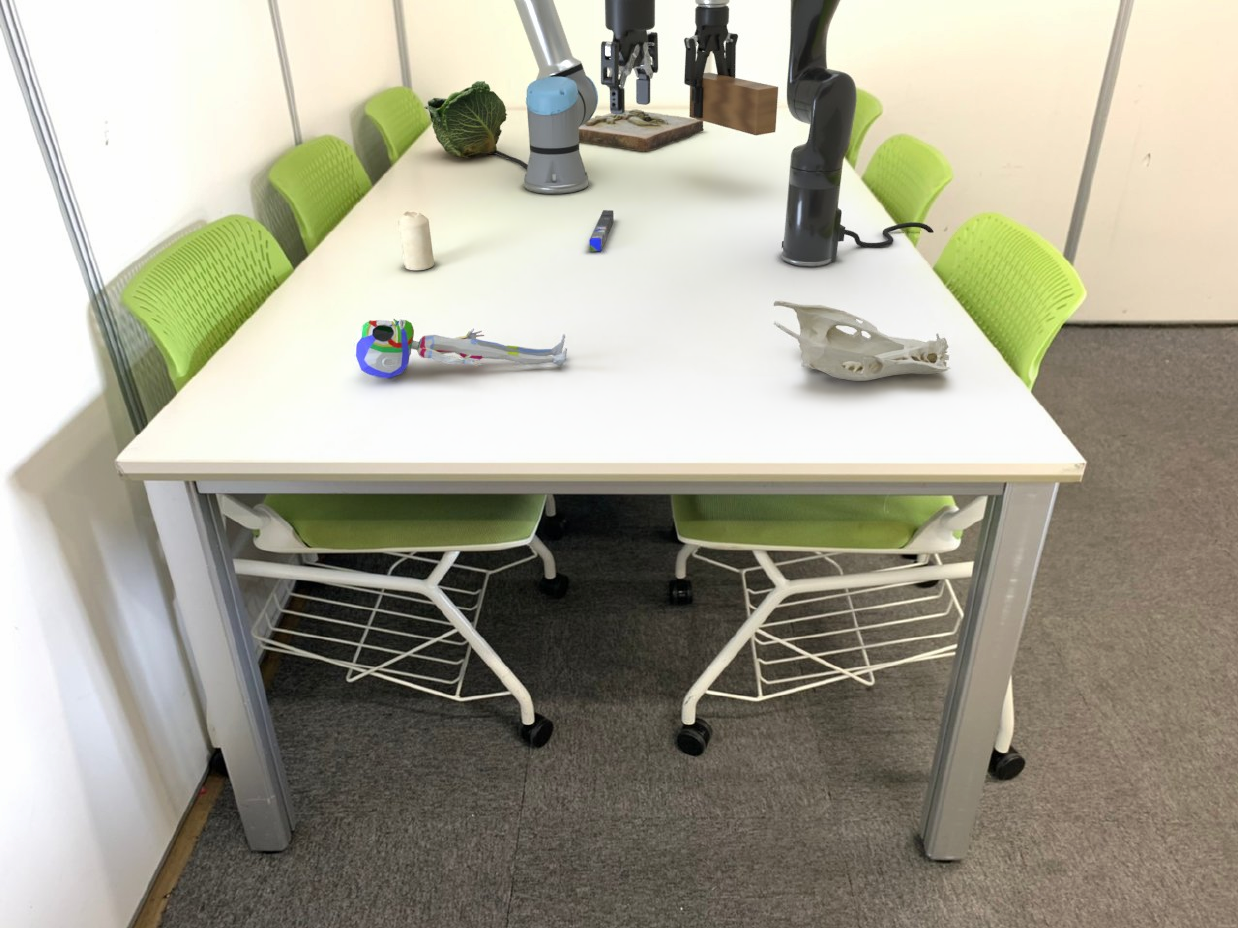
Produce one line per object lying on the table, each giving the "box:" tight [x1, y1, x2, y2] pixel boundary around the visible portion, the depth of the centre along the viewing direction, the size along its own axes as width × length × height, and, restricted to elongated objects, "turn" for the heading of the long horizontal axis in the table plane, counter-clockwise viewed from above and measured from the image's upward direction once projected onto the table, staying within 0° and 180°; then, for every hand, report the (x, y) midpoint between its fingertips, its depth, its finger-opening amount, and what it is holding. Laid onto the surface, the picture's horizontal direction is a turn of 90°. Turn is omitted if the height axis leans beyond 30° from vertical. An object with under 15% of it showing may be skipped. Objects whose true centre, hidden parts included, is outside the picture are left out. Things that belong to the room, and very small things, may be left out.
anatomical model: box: [773, 300, 952, 382], centre depth 127 cm, size 15×9×25 cm
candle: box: [397, 211, 435, 271], centre depth 166 cm, size 6×6×10 cm
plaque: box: [579, 108, 705, 152], centre depth 257 cm, size 30×7×30 cm
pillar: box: [588, 209, 615, 252], centre depth 182 cm, size 2×2×20 cm
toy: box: [353, 318, 568, 379], centre depth 130 cm, size 10×8×30 cm
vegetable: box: [424, 80, 508, 159], centre depth 237 cm, size 20×19×20 cm
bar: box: [688, 72, 779, 136], centre depth 203 cm, size 25×6×9 cm, turn 31°
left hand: (708, 115), depth 211 cm, fingers closed on bar, 5 cm apart
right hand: (630, 108), depth 142 cm, fingers open, 8 cm apart
